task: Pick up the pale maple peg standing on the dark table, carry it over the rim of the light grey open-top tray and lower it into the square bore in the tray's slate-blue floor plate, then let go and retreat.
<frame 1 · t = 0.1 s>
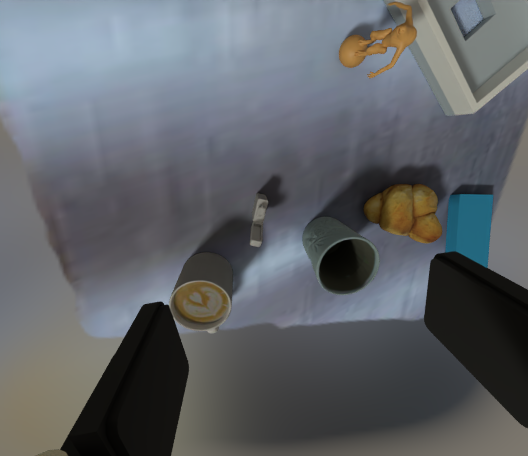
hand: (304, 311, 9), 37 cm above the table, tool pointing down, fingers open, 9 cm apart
lever: (451, 235, 53), on the table
figurine: (353, 57, 39), on the table
lighter: (256, 212, 47), on the table
green cup: (323, 237, 50), on the table
coffee mug: (208, 281, 51), on the table
tray: (462, 17, 39), on the table
bread roll: (391, 204, 49), on the table
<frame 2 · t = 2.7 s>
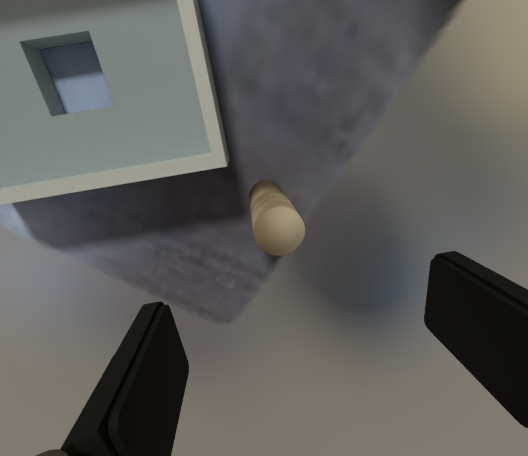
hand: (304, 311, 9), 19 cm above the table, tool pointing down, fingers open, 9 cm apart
peg: (266, 197, 27), on the table
tray: (83, 80, 22), on the table
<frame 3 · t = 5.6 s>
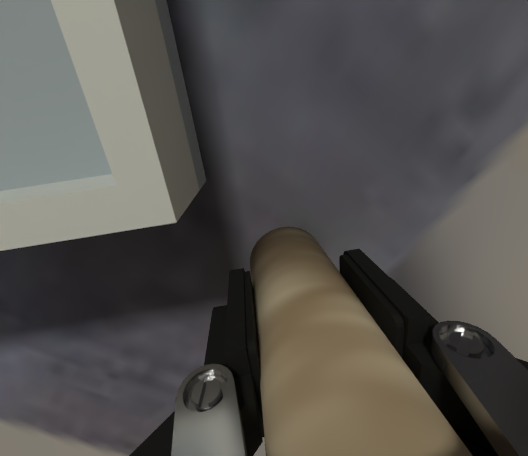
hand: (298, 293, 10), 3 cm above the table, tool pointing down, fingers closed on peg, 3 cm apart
peg: (286, 260, 13), on the table, touching gripper
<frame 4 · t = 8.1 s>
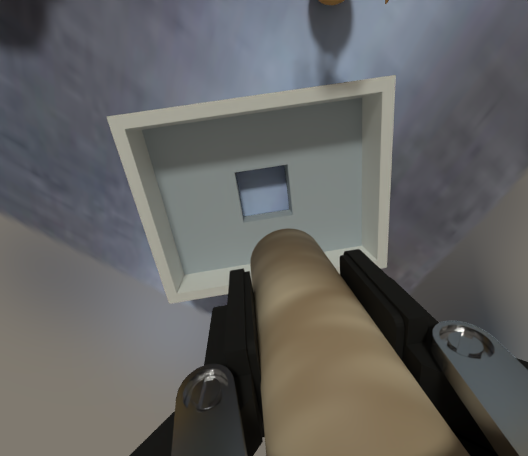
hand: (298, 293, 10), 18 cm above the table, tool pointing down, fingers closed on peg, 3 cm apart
peg: (286, 262, 13), point 16 cm above the table, touching gripper
tray: (263, 190, 27), on the table
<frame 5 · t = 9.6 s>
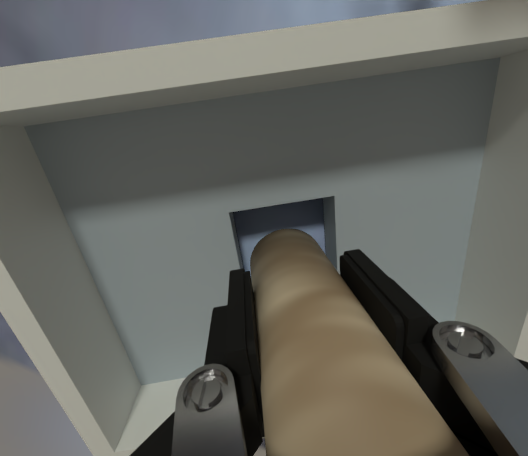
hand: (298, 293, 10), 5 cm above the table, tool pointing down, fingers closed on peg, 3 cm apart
peg: (286, 262, 13), point 3 cm above the table, touching gripper
tray: (281, 236, 15), on the table
when the fingers open (3 cm above the table, at t = 10.6 s): peg stays where it is, resting in tray.
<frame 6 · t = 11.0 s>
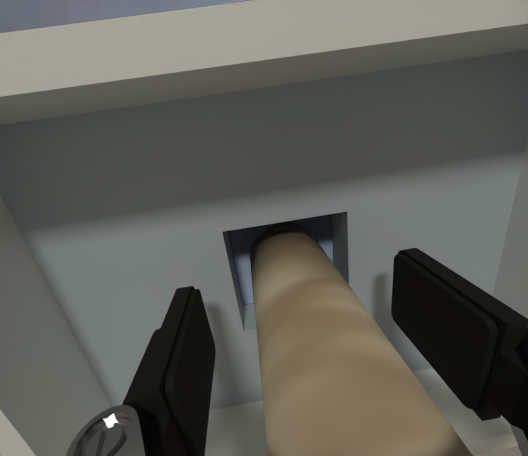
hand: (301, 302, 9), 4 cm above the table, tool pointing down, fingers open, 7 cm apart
peg: (284, 256, 13), resting in tray
tray: (284, 255, 13), on the table
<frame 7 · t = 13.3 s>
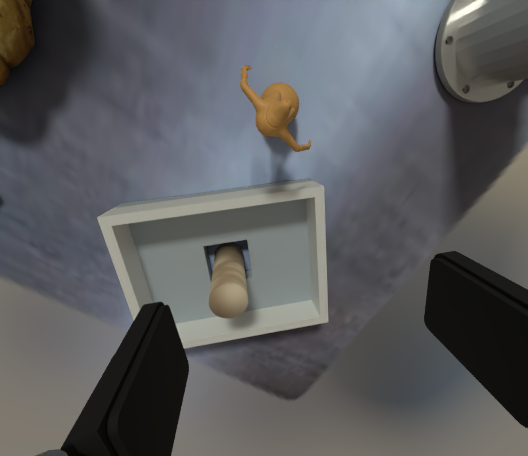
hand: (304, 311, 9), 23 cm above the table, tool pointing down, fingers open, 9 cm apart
figurine: (268, 114, 28), on the table
peg: (229, 255, 32), resting in tray
tray: (228, 255, 32), on the table
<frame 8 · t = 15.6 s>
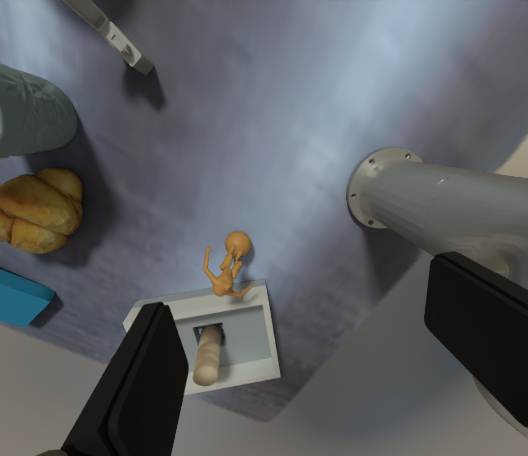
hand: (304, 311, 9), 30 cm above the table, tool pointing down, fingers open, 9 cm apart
figurine: (233, 242, 41), on the table
peg: (212, 328, 46), resting in tray
lighter: (127, 45, 31), on the table
green cup: (40, 114, 32), on the table
tray: (211, 328, 46), on the table
bread roll: (58, 205, 36), on the table
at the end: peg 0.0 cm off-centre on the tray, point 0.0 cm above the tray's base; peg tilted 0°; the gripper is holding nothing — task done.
